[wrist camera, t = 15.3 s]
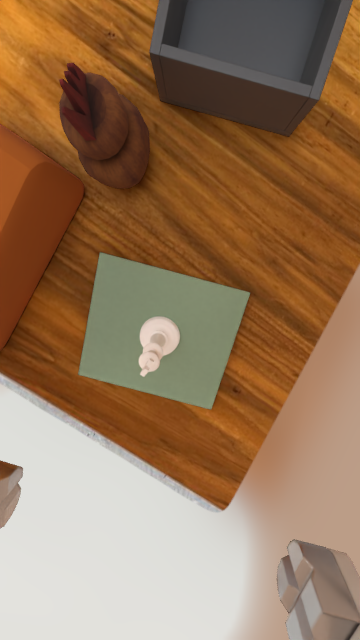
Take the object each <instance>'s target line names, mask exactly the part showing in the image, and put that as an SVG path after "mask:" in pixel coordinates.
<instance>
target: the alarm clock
mask: <svg viewBox="0 0 360 640" xmlns="http://www.w3.org/2000/svg"><path fill="white" fill-rule="evenodd" d="M83 194H84V185H83V183H82V182H81V180H80V179H79V178H78V177H76V176H75V175H73V174H72V173H70V172H69V171H68V170H66V169H65V168H63V167H62V166H61V165H59V164H58V163H56V162H55V161H53V160H52V159H51V158H49V157H48V156H46V155H45V154H43V153H42V152H41V151H39V150H38V149H36V148H35V147H33V146H32V145H31V144H29V143H28V142H26V141H25V140H24V139H22V138H21V137H19V136H18V135H16V134H15V133H14V132H12V131H10V130H9V129H7V128H6V127H4V126H3V125H1V124H0V350H1V349H2V348H3V347H4V346H5V344H6V343H7V341H8V339H9V338H10V336H11V334H12V332H13V330H14V328H15V326H16V324H17V322H18V320H19V318H20V317H21V315H22V313H23V311H24V309H25V307H26V305H27V303H28V301H29V299H30V298H31V296H32V294H33V292H34V290H35V288H36V286H37V284H38V282H39V280H40V278H41V277H42V275H43V273H44V271H45V269H46V267H47V265H48V263H49V261H50V259H51V258H52V256H53V254H54V252H55V250H56V248H57V246H58V244H59V242H60V240H61V238H62V237H63V235H64V233H65V231H66V229H67V227H68V225H69V223H70V221H71V219H72V218H73V216H74V214H75V212H76V210H77V208H78V206H79V204H80V202H81V200H82V197H83Z"/></svg>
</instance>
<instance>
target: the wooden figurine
mask: <svg viewBox="0 0 360 640" xmlns="http://www.w3.org/2000/svg"><path fill="white" fill-rule="evenodd" d="M67 67H68V70H69V71H64V73H65V77H66V79H67V81H68V83H67V82H66V81H65V80H64V79H60V85H61V87H62V89H63V90H64V91H63V94H62V97H61V100H60V118H61V122H62V126H63V129H64V132H65V134H66V136H67V137H68V139H69V141H70V143H71V144H72V145H73V146H74V147H75V148H76V149H77V150H78V154H79V159H80V161H81V163H82V165H83V167H84V169H85V170H86V172H87V173H88V174H89V175H90V176H91V177H93V178H94V179H96V180H98V181H99V182H101V183H103V184H105V185H108V186H111V187H114V188H131V187H132V186H134V185H136V184H137V183H139V182H140V180H141V179H142V177H143V175H144V174H145V171H146V168H147V165H148V159H149V152H150V144H149V131H148V128H147V126H146V124H145V122H144V120H143V118H142V116H141V114H140V112H139V110H138V108H137V107H135V106H134V105H133V104H132V103H131V102H130V101H129V100H128V99H127V98H126V97H124V96H123V95H121V94H118V92H117V90H116V89H115V87H114V86H113V85H112V84H111V83H110V82H109V81H108V80H107V79H106V78H104V77H103V76H101V75H97V74H93V73H86V74H84V73H83V72H82V71H81V70H80V69H79V67H77V66H76V65H75V64H74V63H68V64H67Z"/></svg>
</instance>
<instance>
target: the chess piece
mask: <svg viewBox="0 0 360 640" xmlns="http://www.w3.org/2000/svg"><path fill="white" fill-rule="evenodd" d="M179 340H180V332H179V329H178V327H177V325H176V324H175V323H174V322H173V321H172V320H170V319H168V318H166V317H161V316H158V317H153V318H150V319H148V320H147V321H146V322H145V323H144V324H143V326H142V327H141V330H140V342H141V344H142V346H143V354H141V356H140V357H139V365H140V367H141V368H142V369H143V370H142V371H141V373H140V375H142V376H143V377H144V376H145V375H146V374H147V373H148V372H152V371H155V370H156V369H157V368H158V367H159V365H160V359H161V358H162V357H163V356H164V355H167V354H170V353H171V352H173V351H174V350H175V348H176V347H177V345H178V343H179Z"/></svg>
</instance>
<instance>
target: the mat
mask: <svg viewBox="0 0 360 640" xmlns="http://www.w3.org/2000/svg"><path fill="white" fill-rule="evenodd" d="M249 295H250V292H247V291H243V290H239V289H236V288H232V287H228V286H225V285H221V284H217V283H213V282H210V281H206V280H202V279H199V278H195V277H191V276H187V275H184V274H180V273H176V272H173V271H169V270H165V269H162V268H158V267H154V266H150V265H147V264H143V263H139V262H136V261H132V260H128V259H125V258H121V257H117V256H113V255H110V254H106V253H102V252H100V254H99V260H98V265H97V271H96V277H95V282H94V288H93V294H92V299H91V305H90V311H89V316H88V322H87V328H86V333H85V339H84V345H83V350H82V356H81V362H80V368H79V373H78V375H81V376H85V377H89V378H93V379H97V380H100V381H104V382H108V383H112V384H116V385H119V386H123V387H127V388H131V389H135V390H138V391H142V392H146V393H150V394H154V395H157V396H161V397H165V398H169V399H173V400H176V401H180V402H184V403H188V404H192V405H195V406H199V407H203V408H207V409H212V406H213V403H214V400H215V397H216V394H217V391H218V388H219V385H220V382H221V379H222V376H223V373H224V370H225V367H226V364H227V361H228V358H229V355H230V352H231V349H232V346H233V343H234V340H235V337H236V334H237V331H238V328H239V325H240V322H241V319H242V316H243V313H244V310H245V307H246V304H247V301H248V298H249ZM158 316H161V317H166V318H168V319H170V320H172V321H173V322H174V323H175V324H176V325H177V327H178V329H179V332H180V340H179V343H178V345H177V347H176V348H175V350H174V351H173V352H171V353H170V354H167V355H164V356H163V357H162V358H161V359H160V365H159V367H158V368H157V369H156V370H155V371H152V372H148V373H147V374H146V375H145V376H144V377H143V376H142V375H140V373H141V371H142V370H143V369H142V368H141V367H140V365H139V357H140V356H141V354H143V346H142V344H141V342H140V330H141V327H142V326H143V324H144V323H145V322H146V321H147V320H148V319H150V318H153V317H158Z"/></svg>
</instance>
